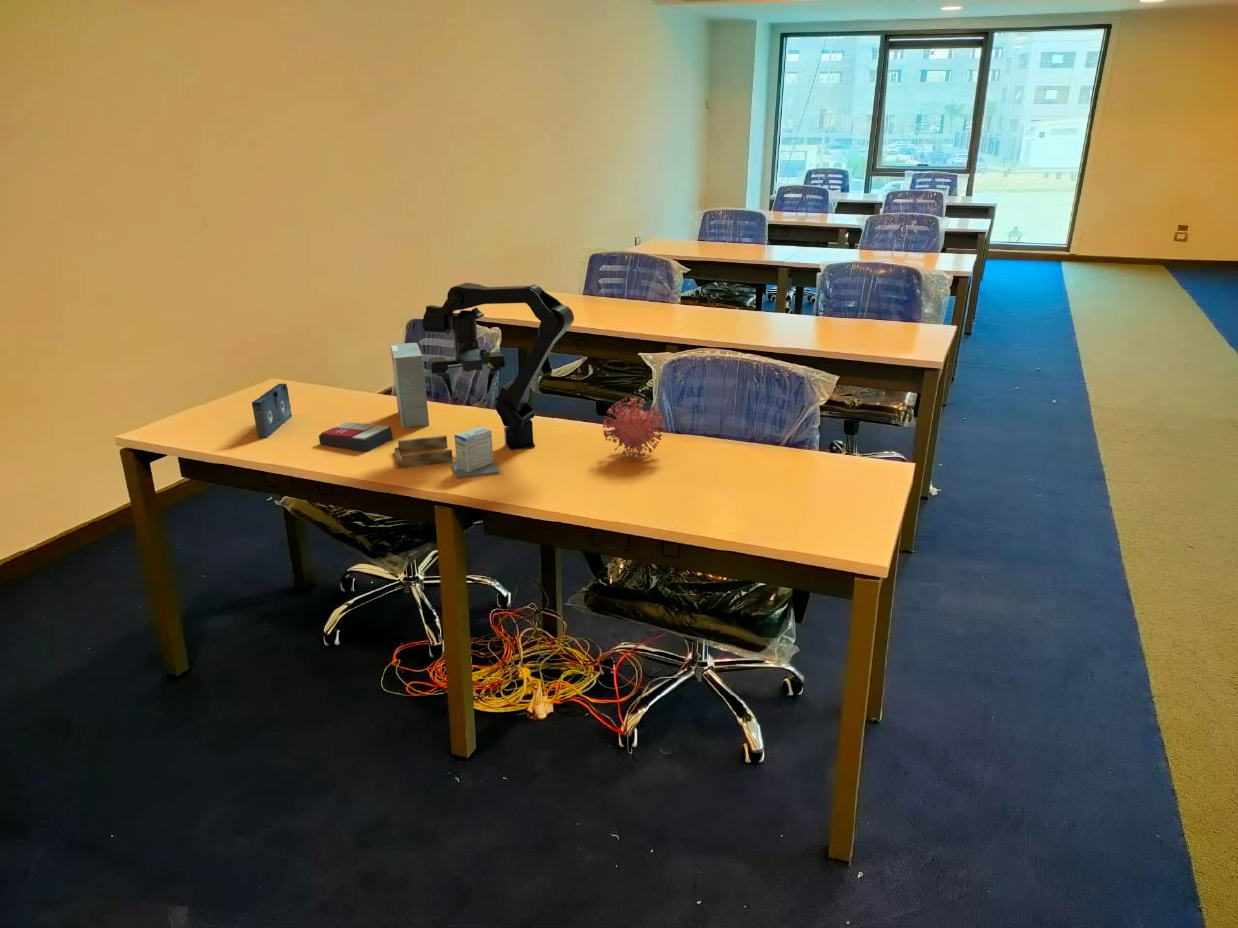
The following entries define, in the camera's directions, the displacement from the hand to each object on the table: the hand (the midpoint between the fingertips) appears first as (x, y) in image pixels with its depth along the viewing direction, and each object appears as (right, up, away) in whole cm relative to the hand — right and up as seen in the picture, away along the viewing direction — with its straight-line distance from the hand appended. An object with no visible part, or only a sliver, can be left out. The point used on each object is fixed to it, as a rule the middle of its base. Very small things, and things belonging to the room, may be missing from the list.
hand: (469, 395), depth 220 cm
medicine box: (+4, -18, -15) cm, 24 cm away
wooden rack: (-10, -16, -7) cm, 20 cm away
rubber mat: (+4, -19, -15) cm, 24 cm away
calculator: (-30, -12, +4) cm, 33 cm away
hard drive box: (-20, -5, +22) cm, 29 cm away
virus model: (+42, -16, -8) cm, 45 cm away
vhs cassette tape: (-56, -8, +16) cm, 59 cm away
